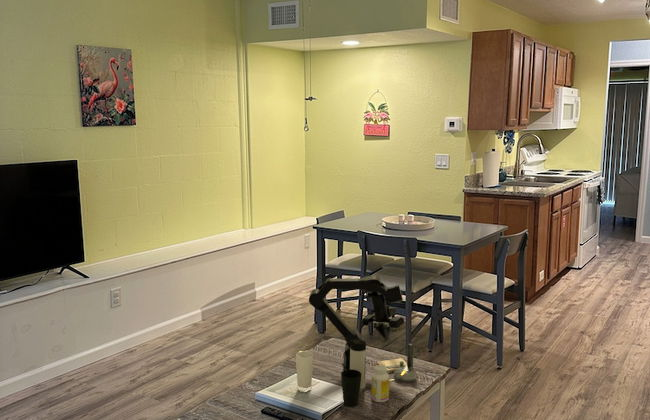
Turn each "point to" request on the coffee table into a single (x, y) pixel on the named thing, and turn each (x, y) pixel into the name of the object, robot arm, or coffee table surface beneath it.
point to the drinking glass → (304, 368)
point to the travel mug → (358, 359)
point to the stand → (392, 364)
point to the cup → (351, 387)
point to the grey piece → (406, 368)
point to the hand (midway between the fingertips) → (387, 339)
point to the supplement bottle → (380, 384)
